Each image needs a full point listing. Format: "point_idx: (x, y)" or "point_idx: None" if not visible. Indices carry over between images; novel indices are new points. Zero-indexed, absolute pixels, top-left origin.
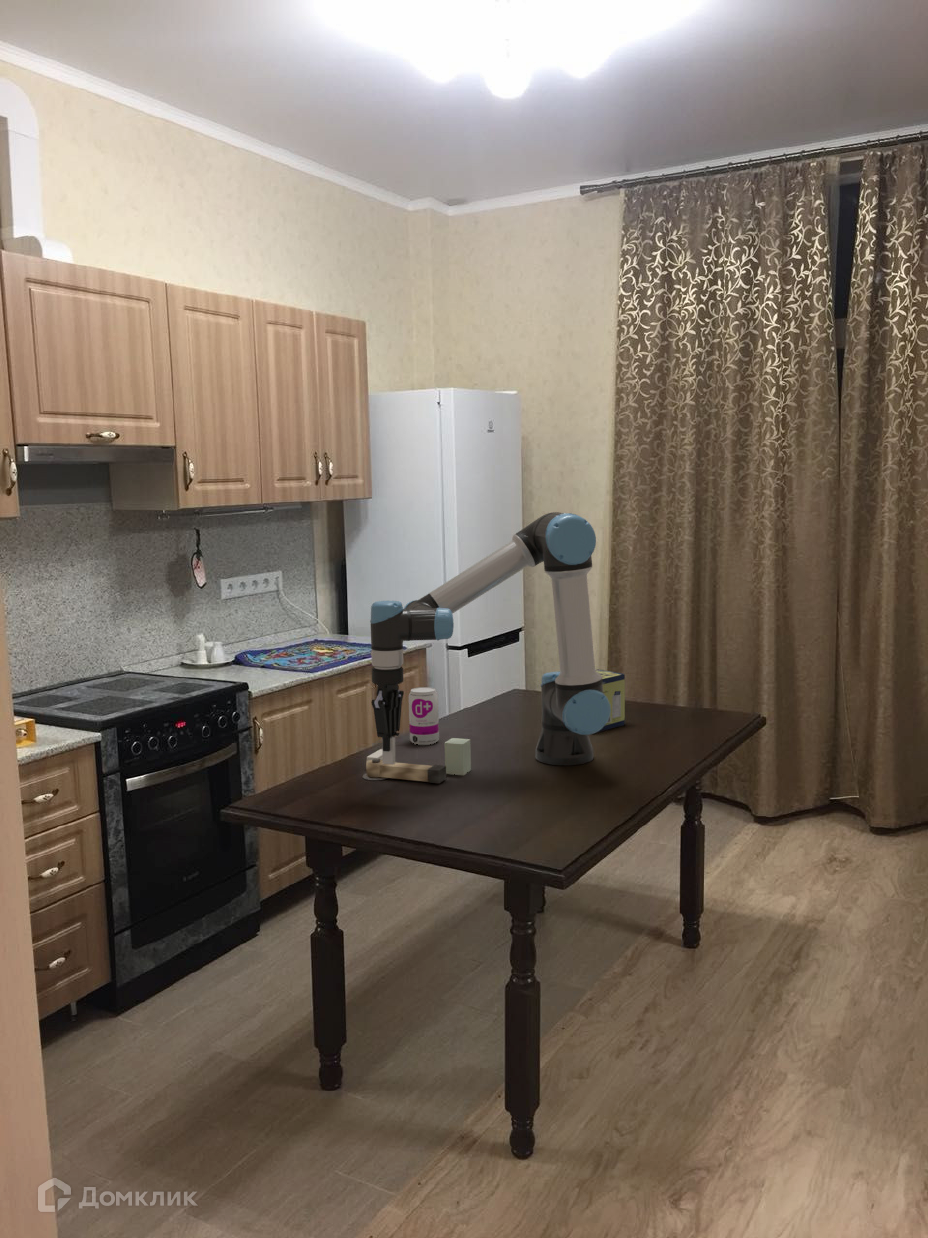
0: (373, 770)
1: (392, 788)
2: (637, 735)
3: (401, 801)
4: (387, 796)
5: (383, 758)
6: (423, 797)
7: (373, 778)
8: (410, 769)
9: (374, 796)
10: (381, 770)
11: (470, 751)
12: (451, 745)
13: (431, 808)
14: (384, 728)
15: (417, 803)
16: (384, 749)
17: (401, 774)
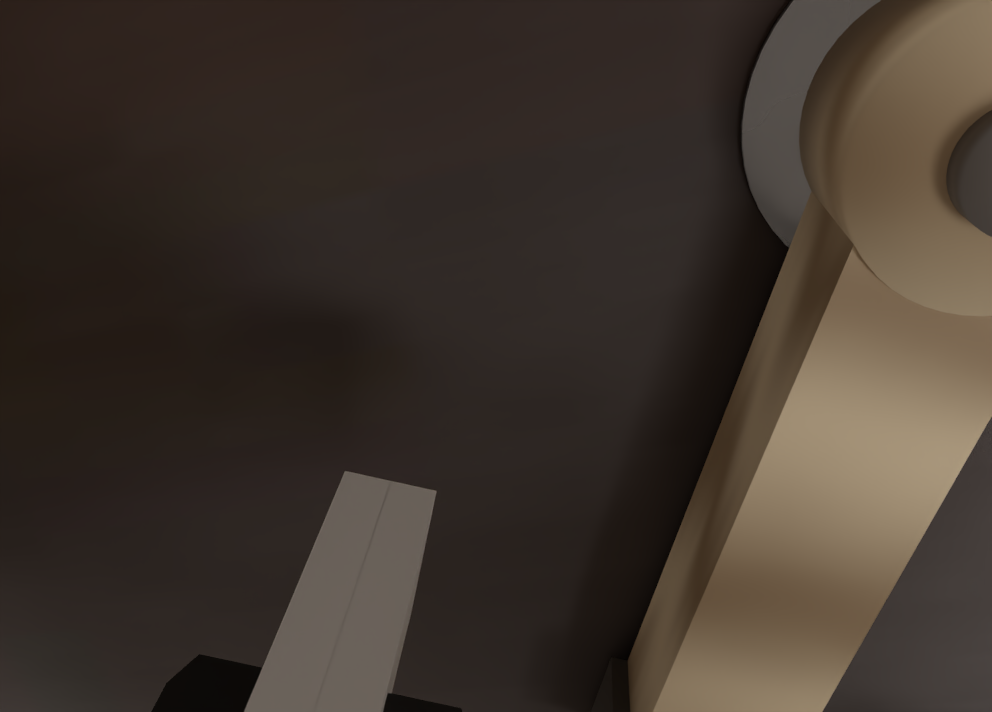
0: (823, 136)
1: (459, 384)
2: None
3: (115, 514)
4: (207, 385)
5: (320, 536)
6: (262, 644)
7: (797, 107)
8: (693, 604)
9: (171, 266)
10: (824, 245)
11: None
12: None
13: (44, 707)
14: None
15: (112, 622)
16: (170, 706)
17: (719, 472)
